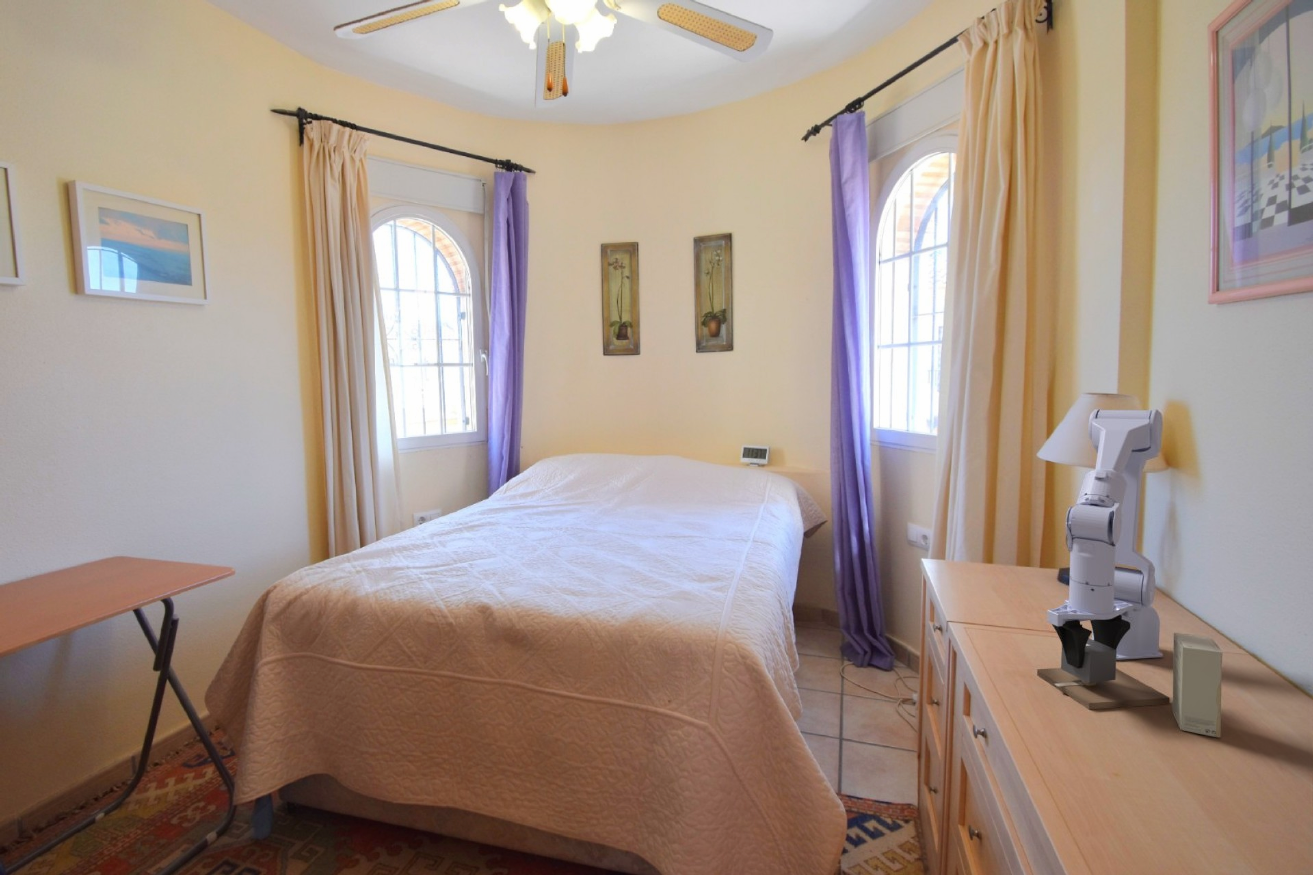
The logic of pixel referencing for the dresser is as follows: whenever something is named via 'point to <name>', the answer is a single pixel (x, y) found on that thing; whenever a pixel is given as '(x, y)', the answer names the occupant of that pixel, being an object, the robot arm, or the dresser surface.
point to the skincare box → (1197, 684)
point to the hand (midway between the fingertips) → (1088, 663)
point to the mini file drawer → (1094, 663)
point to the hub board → (1104, 690)
